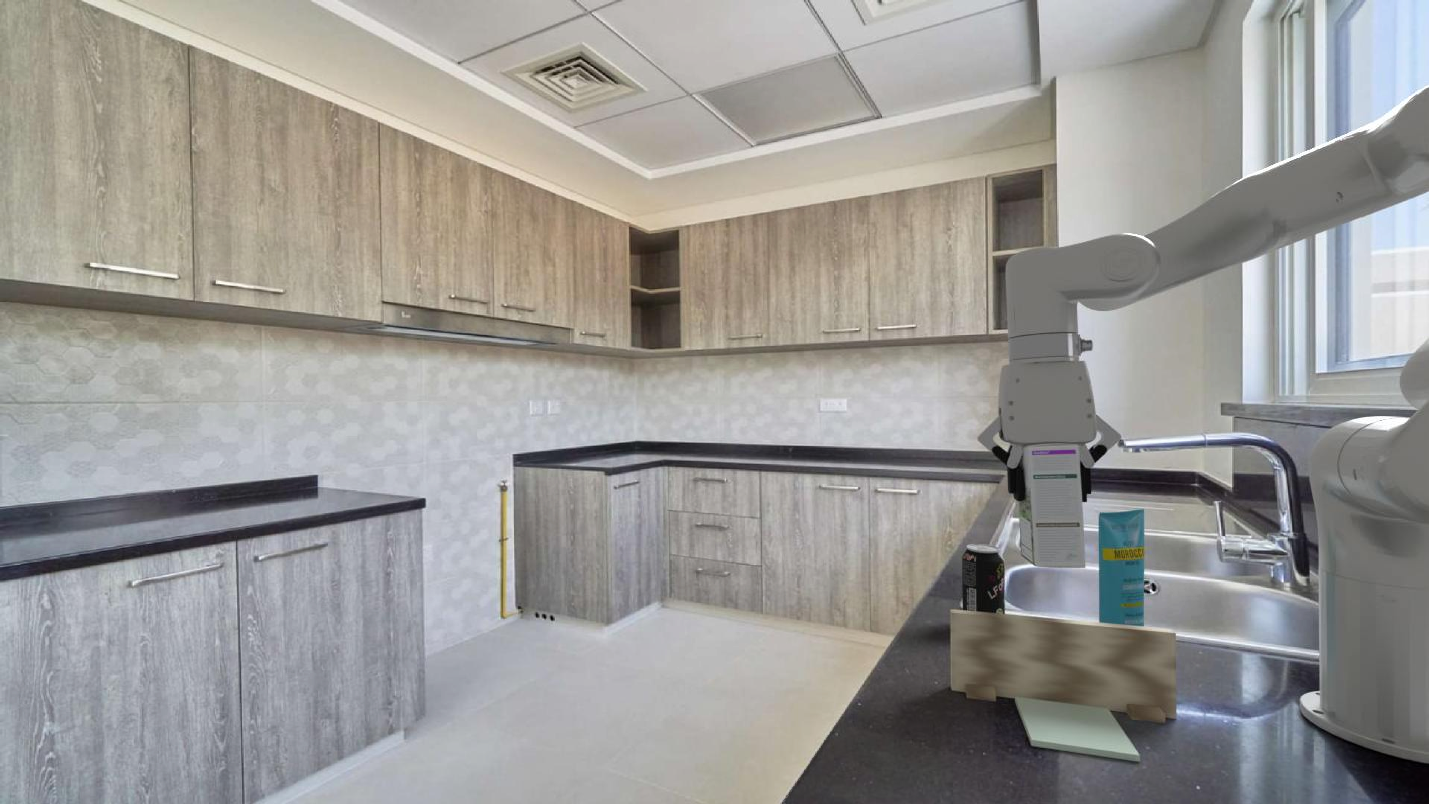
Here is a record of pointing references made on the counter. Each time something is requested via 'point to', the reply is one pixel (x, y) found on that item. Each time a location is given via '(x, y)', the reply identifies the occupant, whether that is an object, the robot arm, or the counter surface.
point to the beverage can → (983, 579)
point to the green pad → (1074, 729)
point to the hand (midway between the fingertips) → (1048, 498)
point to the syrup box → (1052, 506)
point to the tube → (1121, 567)
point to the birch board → (1065, 662)
